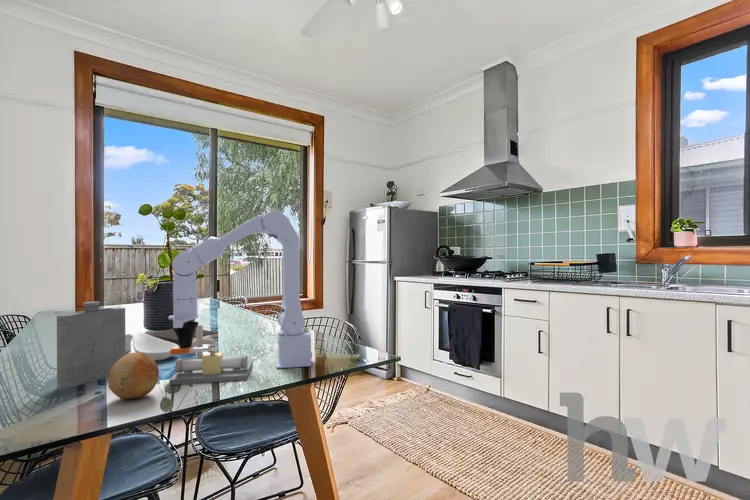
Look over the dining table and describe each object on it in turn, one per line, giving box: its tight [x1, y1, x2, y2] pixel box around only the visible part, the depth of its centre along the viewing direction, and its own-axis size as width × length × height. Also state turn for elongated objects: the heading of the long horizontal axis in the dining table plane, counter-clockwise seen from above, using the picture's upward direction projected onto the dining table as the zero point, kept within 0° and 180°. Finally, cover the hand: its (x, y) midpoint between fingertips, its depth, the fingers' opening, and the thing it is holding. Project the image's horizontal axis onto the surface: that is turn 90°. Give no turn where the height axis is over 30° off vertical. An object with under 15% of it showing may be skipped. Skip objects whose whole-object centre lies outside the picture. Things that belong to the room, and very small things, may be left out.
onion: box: [107, 352, 160, 400], centre depth 89 cm, size 10×10×10 cm
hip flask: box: [56, 301, 127, 391], centre depth 103 cm, size 16×4×20 cm, turn 154°
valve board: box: [169, 352, 254, 386], centre depth 107 cm, size 18×14×6 cm
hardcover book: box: [145, 328, 220, 346], centre depth 154 cm, size 16×23×2 cm
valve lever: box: [170, 344, 219, 356], centre depth 104 cm, size 11×2×2 cm, turn 100°
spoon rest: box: [125, 331, 180, 362], centre depth 126 cm, size 24×12×7 cm, turn 63°
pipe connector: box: [191, 324, 217, 359], centre depth 124 cm, size 10×10×10 cm
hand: (185, 350), depth 105 cm, fingers closed
